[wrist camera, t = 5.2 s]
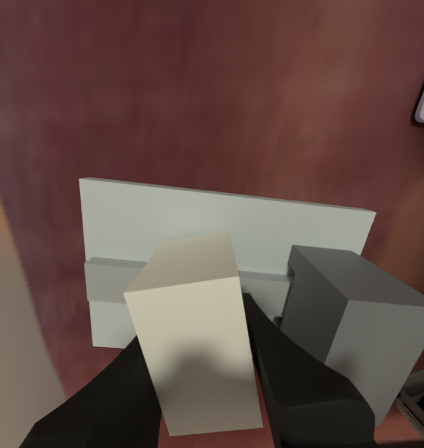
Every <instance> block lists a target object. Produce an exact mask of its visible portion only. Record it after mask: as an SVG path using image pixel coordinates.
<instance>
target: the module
mask: <svg viewBox="0 0 424 448" xmlns="http://www.w3.org/2000/svg"><path fill="white" fill-rule="evenodd" d="M123 294H124V297H125V300H126V303H127V306H128V309H129V312H130V315H131V318H132V321H133V324H134V327H135V330H136V333H137V337H138V340H139V343H140V346H141V349H142V352H143V355H144V358H145V361H146V364H147V367H148V370H149V373H150V376H151V379H152V382H153V385H154V388H155V391H156V395H157V398H158V401H159V404H160V407H161V410H162V413H163V416H164V419H165V422H166V425H167V428H168V431H169V434H170V436H177V435H188V434H198V433H209V432H220V431H230V430H241V429H252V428H262V427H263V425H262V418H261V412H260V406H259V400H258V393H257V387H256V381H255V375H254V368H253V362H252V356H251V349H250V343H249V337H248V331H247V324H246V318H245V312H244V305H243V299H242V293H241V287H240V280H239V275H238V270H237V265H236V261H235V256H234V251H233V246H232V242H231V237H230V232H229V231H223V232H217V233H211V234H205V235H198V236H192V237H186V238H180V239H174V240H168V241H164V242H163V243H162V244H161V245H160V247H159V248H158V249H157V251H156V252H155V253H154V254H153V256H152V257H151V258H150V259H149V261H148V262H147V263H146V265H145V266H144V267H143V268H142V270H141V271H140V272H139V274H138V275H137V276H136V277H135V279H134V280H133V281H132V282H131V284H130V285H129V286H128V288H127V289H126V290H125V291H124V293H123Z"/></svg>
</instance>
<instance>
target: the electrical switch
mask: <svg viewBox="0 0 424 448" xmlns="http://www.w3.org/2000/svg"><path fill="white" fill-rule="evenodd" d="M419 376H422V377H419ZM410 378H411V379H410ZM409 379H410V380H409ZM408 389H409V390H408ZM399 392H400V395H401V397H398V398H396V405H397V407H398V409H399V410H400V412H401V413H402V414H403V416H404V417H405V418H406V419H407V420H408V422H409V423H410V424H411V425H412V426H413V428H414V429H415V430H416V431H417V432H418V434H419V435H420V436H421V437H422V438H423V440H424V370H421V371H418V372H415V373H412V374H409V376H408V377H407V379H406V381H405V383H404V384H403V386H402V388H401V390H400V391H399Z"/></svg>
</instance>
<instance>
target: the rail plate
mask: <svg viewBox="0 0 424 448" xmlns="http://www.w3.org/2000/svg"><path fill="white" fill-rule="evenodd" d="M79 182H80V194H81V206H82V218H83V230H84V242H85V254H86V263H84V265H85V277H86V288H87V300H88V301H89V303H90V315H91V327H92V339H93V346H99V347H113V348H126V347H127V346H128V344H129V343H130V342H131V341H132V340H133V339H134V337H135V336H136V335H137V333H136V330H135V327H134V324H133V321H132V318H131V315H130V312H129V309H128V306H127V303H126V300H125V297H124V294H123V293H124V291H125V290H126V289H127V288H128V286H129V285H130V284H131V282H132V281H133V280H134V279H135V277H136V276H137V275H138V274H139V272H140V271H141V270H142V268H143V267H144V266H145V265H146V263H147V262H148V261H149V259H150V258H151V257H152V256H153V254H154V253H155V252H156V251H157V249H158V248H159V247H160V245H161V244H162V243H163V242H164V241H168V240H174V239H180V238H186V237H192V236H198V235H205V234H211V233H217V232H223V231H229V232H230V237H231V242H232V246H233V251H234V256H235V261H236V265H237V270H238V275H239V280H240V287H241V293H242V294H243V293H250V294H251V296H252V297H253V299H254V300H255V302H256V303H257V305H258V306H259V307H260V308H261V310H262V311H263V312H264V313H265V314H266V316H267V317H268V318H269V319H270V320H271V321H272V322H273V323H274V324H275V325H276V326H277V327H278V328H279V329H280V330H281V331H282V332H283V333H284V334H285V335H286V336H287V337H288V338H290V339H291V340H292V341H293V342H294V343H296V344H297V345H298V346H299V347H301V348H302V349H303V350H305V351H306V352H307V353H309V354H310V355H312V356H313V357H314V358H316V359H317V360H319V361H320V362H322V363H323V364H325V365H326V366H328V367H330V368H331V369H333V370H335V371H337V372H338V373H340V374H342V375H343V376H345V377H347V378H348V379H349V380H350V381H351V382H352V383H353V384H354V386H355V387H356V388H357V389H358V390H359V392H360V393H361V394H362V396H363V397H364V398H365V400H366V401H367V402H368V404H369V405H370V407H371V409H372V410H373V412H374V414H375V425H376V426H380V425H381V423H382V421H383V420H384V418H385V416H386V414H387V413H388V411H389V409H390V407H391V406H392V404H393V402H394V400H395V399H396V397H397V395H398V393H399V391H400V390H401V388H402V386H403V384H404V383H405V381H406V379H407V377H408V376H409V374H410V372H411V370H412V369H413V367H414V365H415V363H416V362H417V360H418V358H419V356H420V354H421V353H422V351H423V349H424V295H423V294H422V293H420V292H418V291H417V290H415V289H413V288H412V287H410V286H409V285H407V284H405V283H404V282H402V281H400V280H399V279H397V278H395V277H394V276H392V275H391V274H389V273H387V272H386V271H384V270H382V269H381V268H379V267H378V266H376V265H374V264H373V263H371V262H369V261H368V260H366V259H364V258H363V257H361V256H360V255H361V252H362V249H363V247H364V244H365V241H366V239H367V236H368V233H369V231H370V228H371V225H372V222H373V220H374V217H375V214H376V212H373V211H370V210H367V209H363V208H354V207H346V206H337V205H328V204H319V203H311V202H302V201H293V200H284V199H276V198H267V197H258V196H249V195H240V194H232V193H223V192H214V191H205V190H197V189H188V188H179V187H170V186H161V185H153V184H144V183H135V182H126V181H118V180H109V179H100V178H91V177H89V178H81V179H79ZM251 356H252V353H251ZM252 358H253V357H252Z"/></svg>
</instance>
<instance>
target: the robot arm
mask: <svg viewBox="0 0 424 448" xmlns="http://www.w3.org/2000/svg"><path fill="white" fill-rule="evenodd" d="M415 119H416V121H418V122H421V123H424V92H423V94H422V97H421V100H420V102H419V105H418V108H417V110H416V113H415ZM242 299H243V305H244V312H245V318H246V324H247V331H248V337H249V343H250V349H251V353H252V357H253V360H254V363H255V366H256V370H257V373H258V376H259V380H260V384H261V388H262V392H263V397H264V401H265V405H266V410H267V414H268V419H269V423H270V428H271V432H272V437H273V442H274V446H275V448H379V447H378V445H377V443H376V442H375V440H374V438H373V437H374V428H375V414H374V412H373V410H372V409H371V407H370V405H369V404H368V402H367V401H366V400H365V398H364V397H363V396H362V394H361V393H360V392H359V390H358V389H357V388H356V387H355V386H354V384H353V383H352V382H351V381H350V380H349V379H348V378H347V377H345V376H343V375H342V374H340V373H338V372H337V371H335V370H333V369H331V368H330V367H328V366H326V365H325V364H323V363H322V362H320V361H319V360H317V359H316V358H314V357H313V356H312V355H310V354H309V353H307V352H306V351H305V350H303V349H302V348H301V347H299V346H298V345H297V344H296V343H294V342H293V341H292V340H291V339H290V338H288V337H287V336H286V335H285V334H284V333H283V332H282V331H281V330H280V329H279V328H278V327H277V326H276V325H275V324H274V323H273V322H272V321H271V320H270V319H269V318H268V317H267V316H266V314H265V313H264V312H263V311H262V310H261V308H260V307H259V306H258V305H257V303H256V302H255V300H254V299H253V297H252V296H251V294H250V293H243V294H242ZM161 413H162V410H161V407H160V404H159V401H158V398H157V395H156V391H155V388H154V385H153V382H152V379H151V376H150V373H149V370H148V367H147V364H146V361H145V358H144V355H143V352H142V349H141V346H140V343H139V340H138V337H137V335H136V336H135V337H134V339H133V340H132V341H131V342H130V343H129V344H128V346H127V347H126V348H125V349H124V350H123V351H122V352H121V353H120V354H119V355H118V356H117V357H116V358H115V359H114V360H113V361H112V362H111V363H110V364H109V365H108V366H107V367H106V368H105V369H104V370H103V371H102V372H101V373H100V374H98V375H97V376H96V377H95V378H94V379H93V380H92V381H91V382H89V383H88V384H87V385H86V386H85V387H83V388H82V389H81V390H80V391H79V392H77V393H76V394H75V395H73V396H72V397H71V398H70V399H68V400H67V401H66V402H64V403H63V404H62V405H60V406H59V407H58V408H56V409H55V410H53V411H52V412H50V413H49V414H48V415H46V416H45V417H44V418H42V419H41V420H39V421H38V422H36V423H35V424H34V426H33V427H32V429H31V430H30V432H29V433H28V435H27V436H26V438H25V439H24V441H23V443H22V444H21V445H20V447H19V448H157V447H158V438H159V429H160V420H161Z"/></svg>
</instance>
